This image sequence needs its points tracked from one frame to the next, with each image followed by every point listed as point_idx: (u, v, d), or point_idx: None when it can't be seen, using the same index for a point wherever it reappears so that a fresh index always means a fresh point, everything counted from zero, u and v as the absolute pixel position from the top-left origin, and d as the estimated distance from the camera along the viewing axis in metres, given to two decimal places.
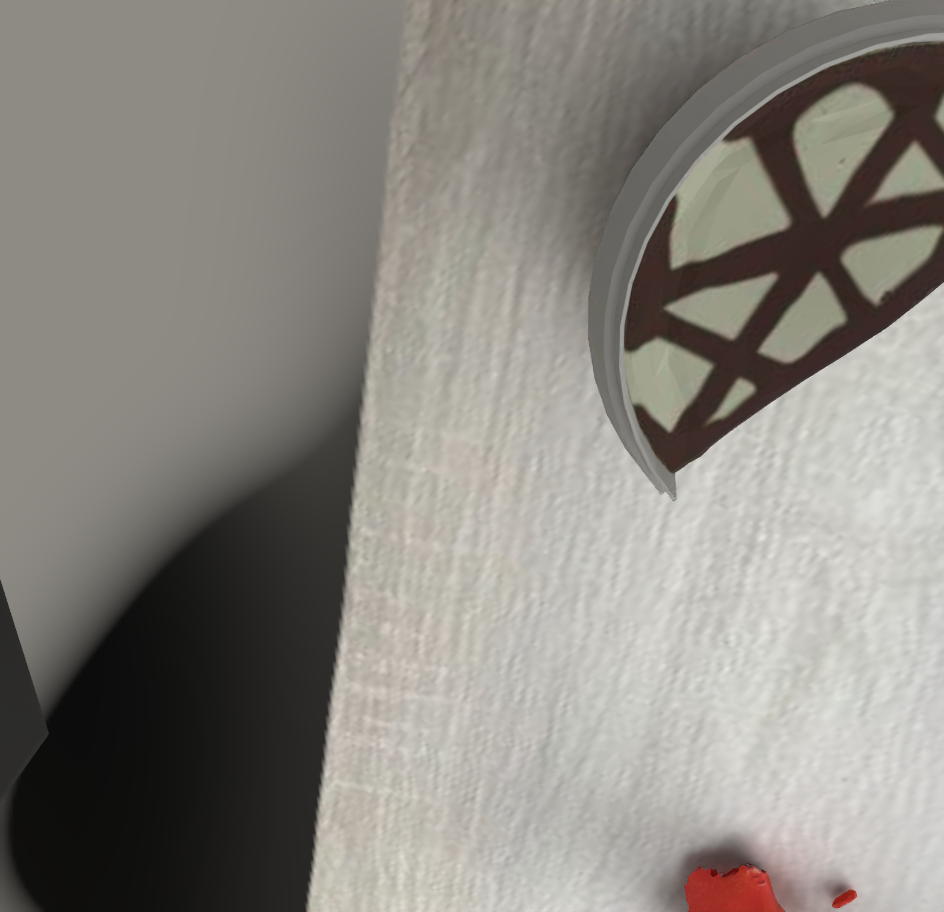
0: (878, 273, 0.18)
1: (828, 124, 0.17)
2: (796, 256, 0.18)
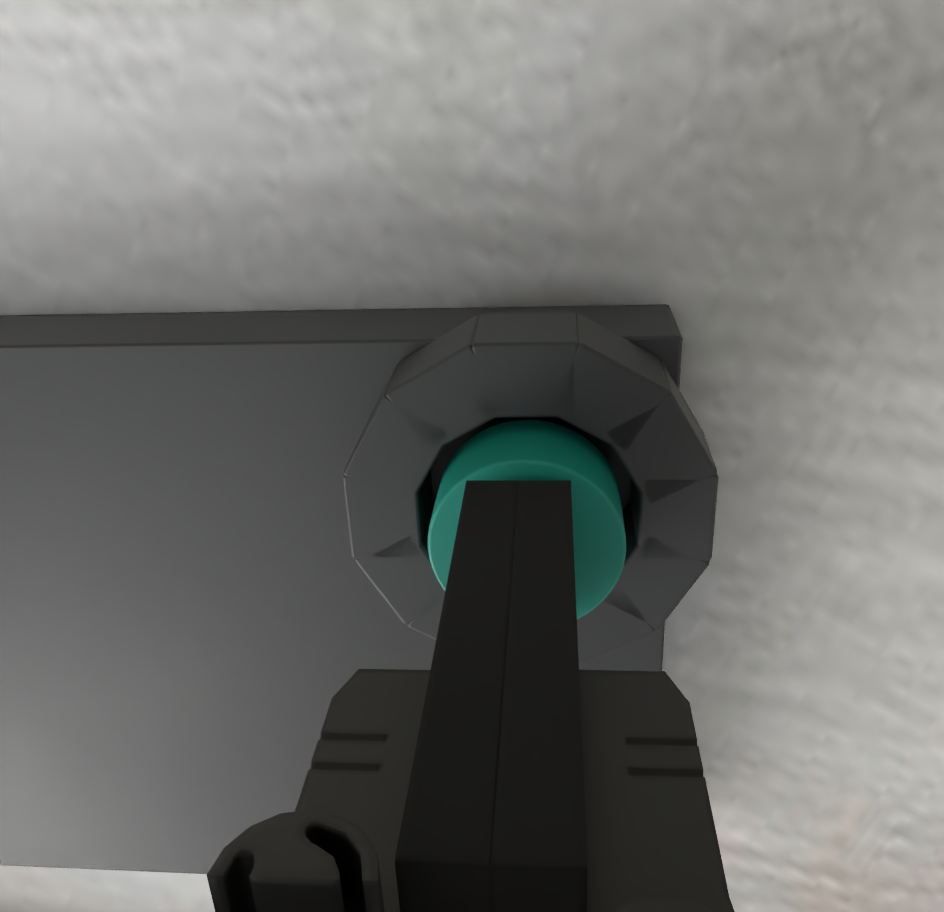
0: None
1: None
2: None
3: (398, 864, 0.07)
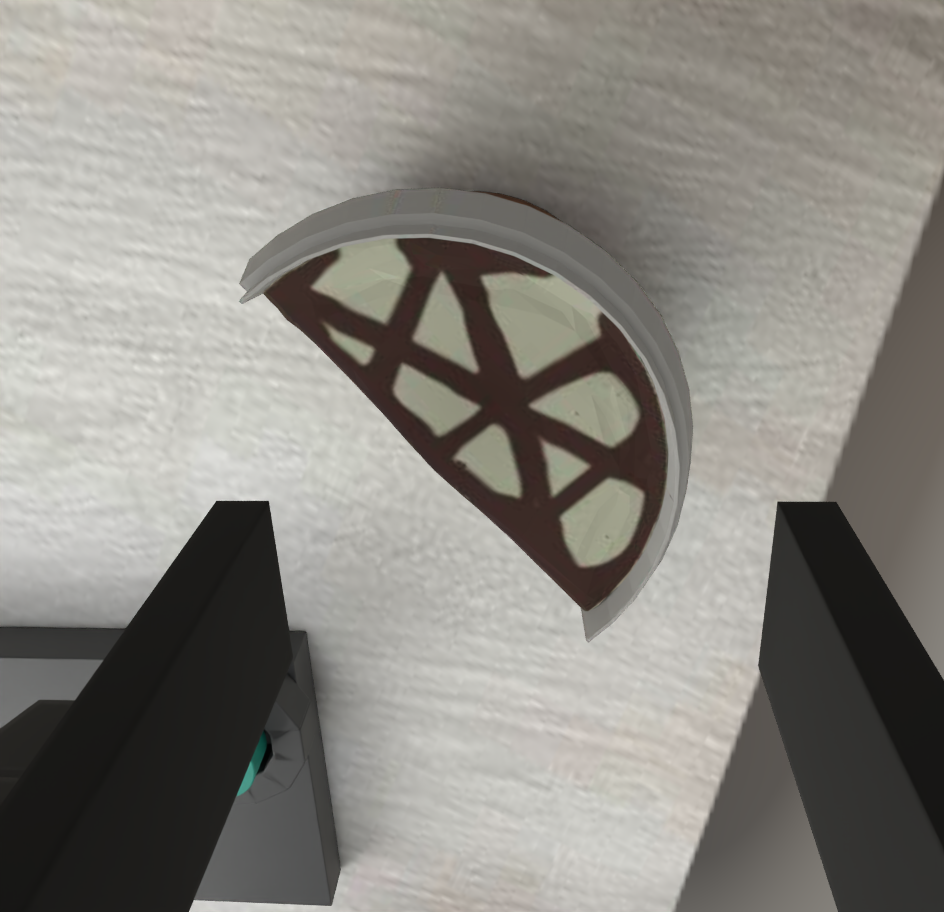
0: (480, 455, 0.20)
1: (608, 399, 0.20)
2: (493, 386, 0.20)
3: None
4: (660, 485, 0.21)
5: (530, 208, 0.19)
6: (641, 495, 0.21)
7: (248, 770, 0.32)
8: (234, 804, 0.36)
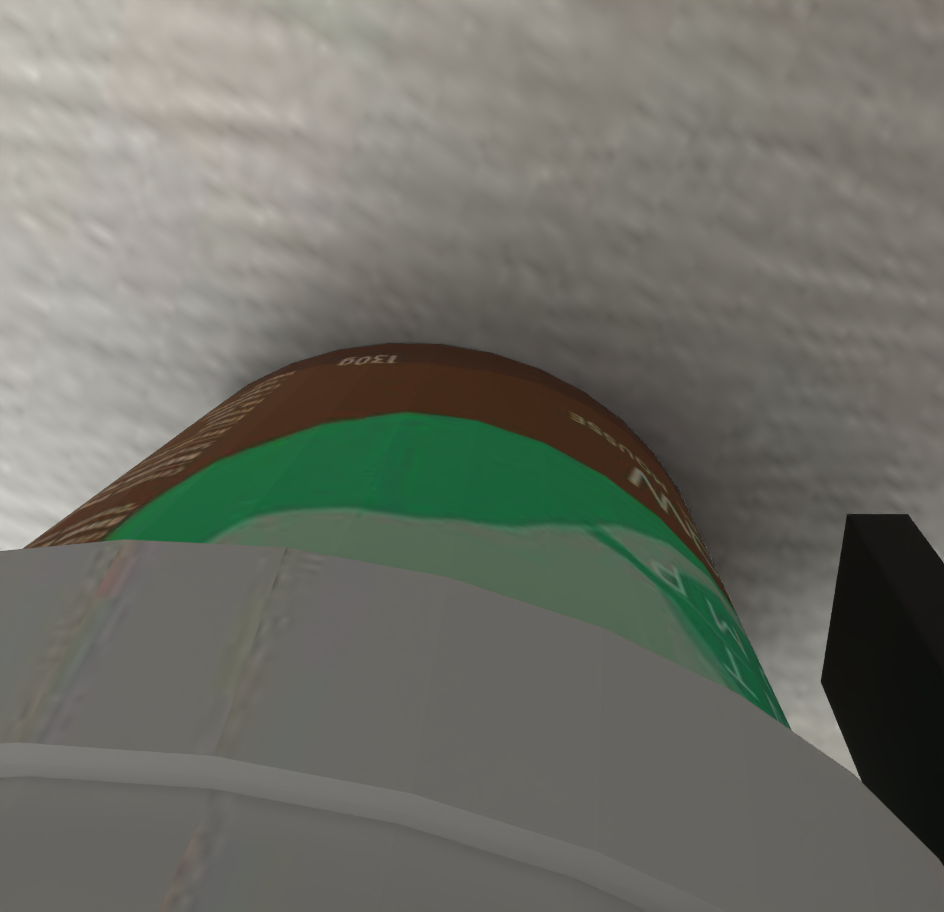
0: None
1: None
2: None
3: None
4: None
5: (609, 640, 0.05)
6: None
7: None
8: None
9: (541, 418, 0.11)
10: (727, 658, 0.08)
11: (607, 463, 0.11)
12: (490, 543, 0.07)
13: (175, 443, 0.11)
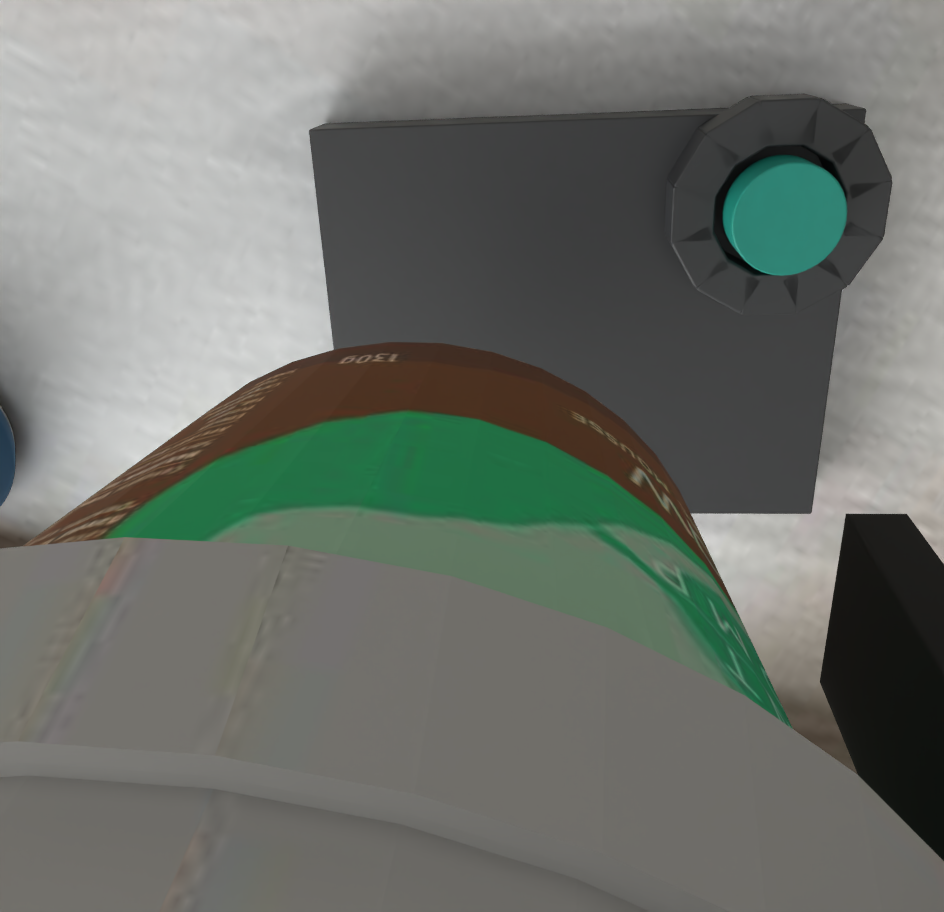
0: None
1: None
2: None
3: None
4: None
5: (613, 640, 0.05)
6: None
7: (838, 221, 0.24)
8: (724, 354, 0.28)
9: (542, 417, 0.11)
10: (729, 658, 0.08)
11: (608, 462, 0.11)
12: (492, 542, 0.07)
13: (175, 441, 0.11)
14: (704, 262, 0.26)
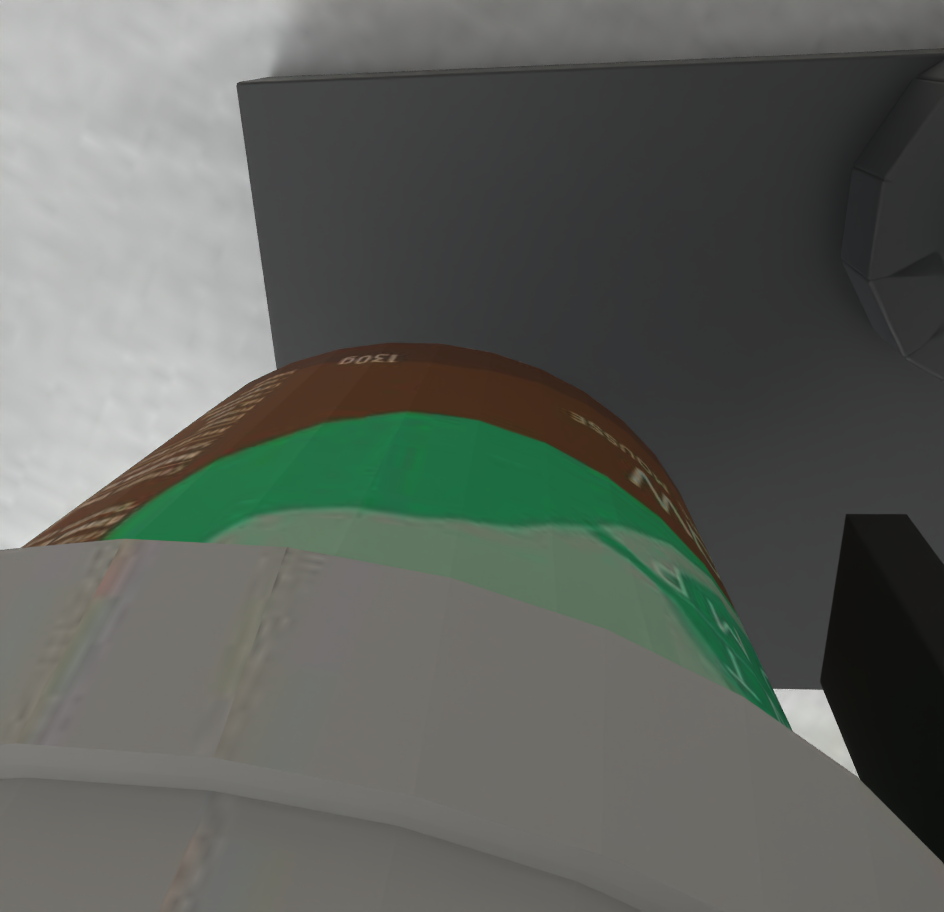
0: None
1: None
2: None
3: None
4: None
5: (612, 642, 0.05)
6: None
7: None
8: (922, 456, 0.17)
9: (542, 418, 0.11)
10: (729, 659, 0.08)
11: (608, 463, 0.11)
12: (491, 543, 0.07)
13: (175, 442, 0.11)
14: (925, 313, 0.15)
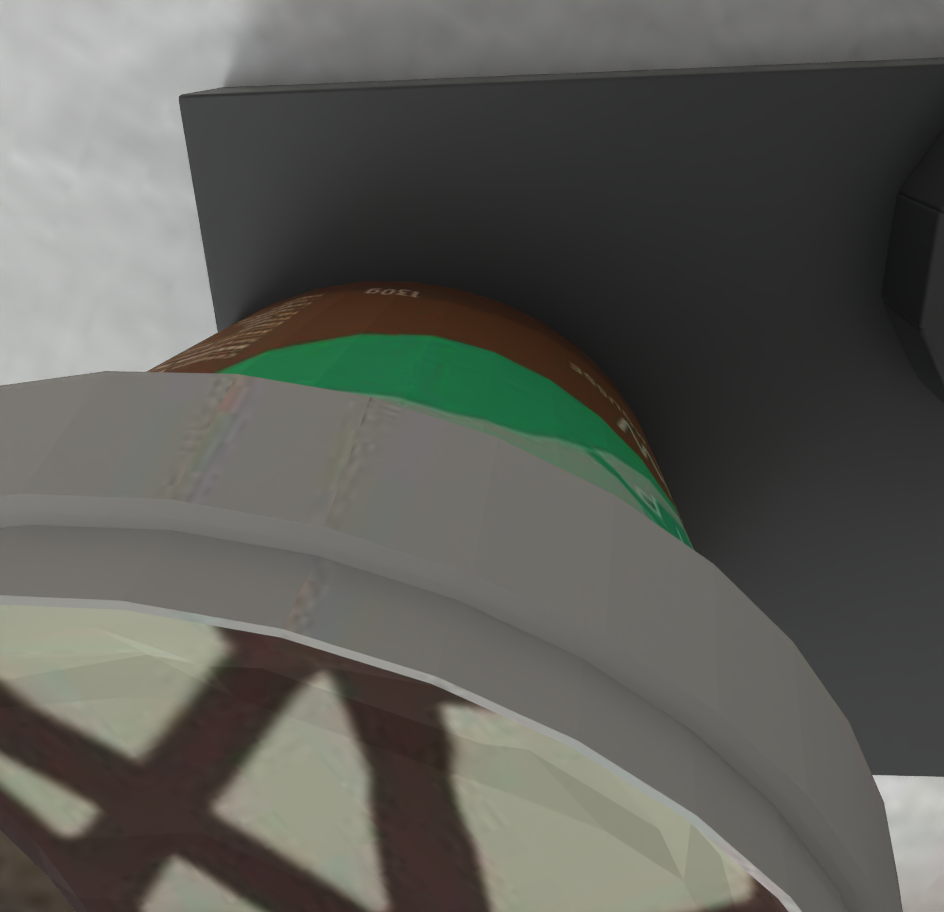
0: None
1: None
2: None
3: None
4: None
5: (619, 505, 0.07)
6: None
7: None
8: None
9: (546, 361, 0.12)
10: None
11: (600, 407, 0.12)
12: (510, 441, 0.09)
13: (216, 339, 0.12)
14: None
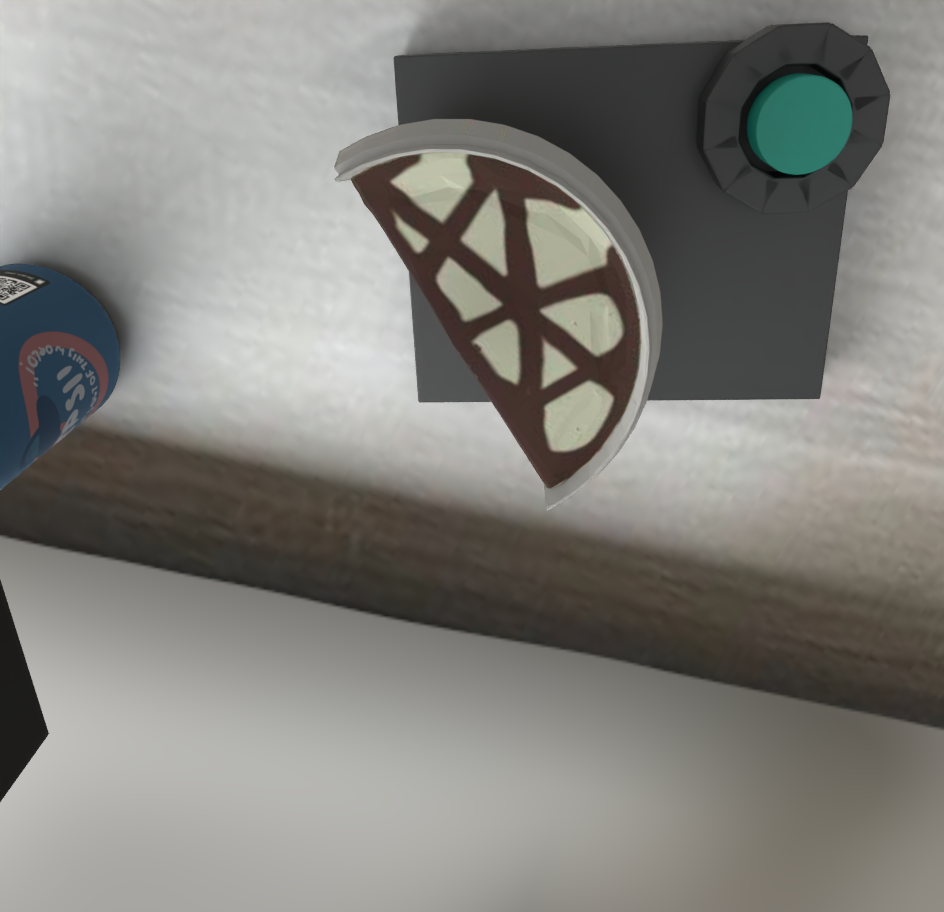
0: (494, 343, 0.26)
1: (601, 316, 0.25)
2: (515, 289, 0.25)
3: None
4: (627, 394, 0.26)
5: (571, 155, 0.24)
6: (611, 399, 0.26)
7: (844, 126, 0.28)
8: (745, 254, 0.33)
9: None
10: None
11: None
12: None
13: None
14: (731, 167, 0.30)
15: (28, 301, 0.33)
